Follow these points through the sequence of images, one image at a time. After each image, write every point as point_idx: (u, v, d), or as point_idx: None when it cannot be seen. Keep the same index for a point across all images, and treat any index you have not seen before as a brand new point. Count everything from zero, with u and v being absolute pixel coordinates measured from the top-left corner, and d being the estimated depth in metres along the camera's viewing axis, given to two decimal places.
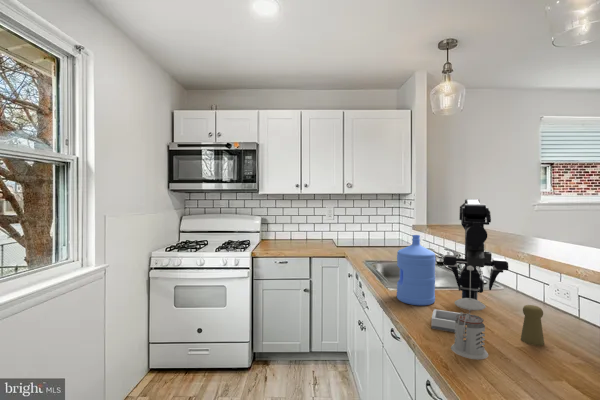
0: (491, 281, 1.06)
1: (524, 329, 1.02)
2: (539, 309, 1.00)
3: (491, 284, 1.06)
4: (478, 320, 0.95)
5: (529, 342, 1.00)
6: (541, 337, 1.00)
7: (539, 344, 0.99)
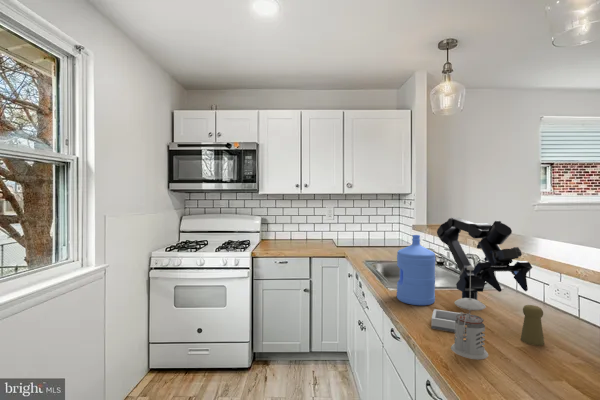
0: (524, 281, 1.12)
1: (524, 329, 1.02)
2: (539, 309, 1.00)
3: (525, 284, 1.11)
4: (478, 320, 0.95)
5: (529, 342, 1.00)
6: (541, 337, 1.00)
7: (539, 344, 0.99)
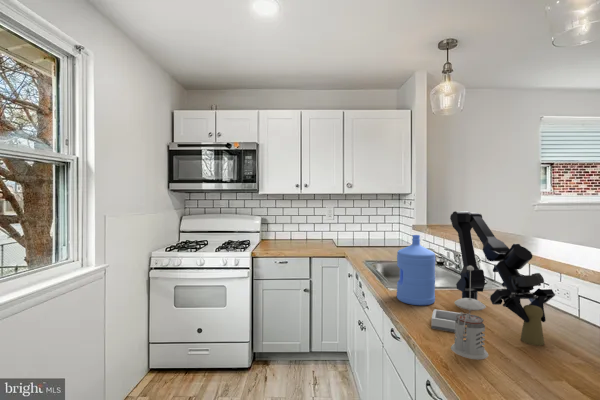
0: None
1: (524, 329, 1.02)
2: (539, 309, 1.00)
3: (543, 314, 1.02)
4: (478, 320, 0.95)
5: (529, 342, 1.00)
6: (541, 337, 1.00)
7: (539, 344, 0.99)
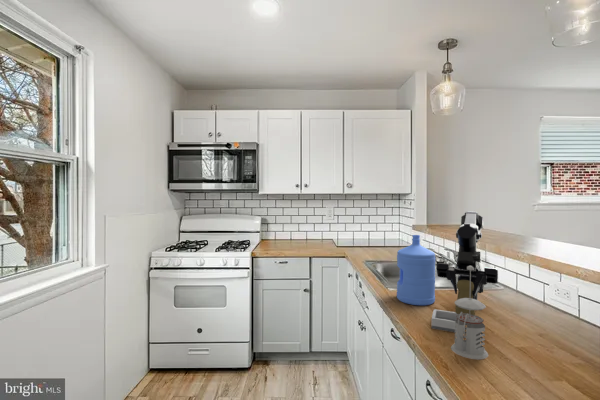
0: (475, 286, 1.08)
1: None
2: (467, 283, 1.08)
3: (475, 289, 1.08)
4: (478, 320, 0.95)
5: (456, 312, 1.10)
6: (467, 309, 1.07)
7: None
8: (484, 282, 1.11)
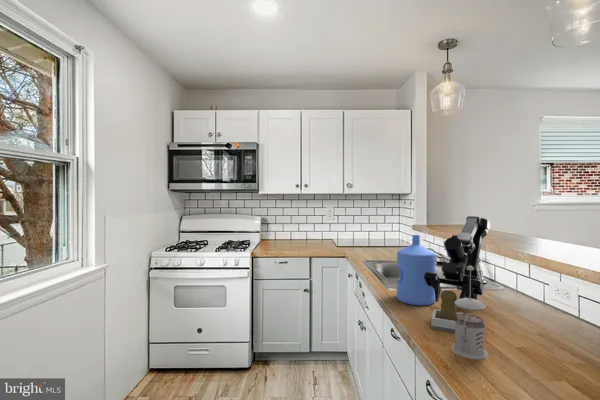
0: (460, 296, 1.11)
1: None
2: (448, 294, 1.12)
3: None
4: (478, 320, 0.95)
5: None
6: (448, 319, 1.11)
7: None
8: (472, 293, 1.13)
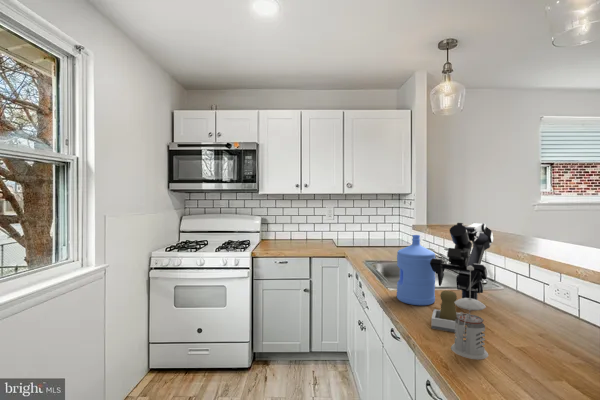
0: (468, 281, 1.15)
1: None
2: (448, 294, 1.12)
3: (468, 284, 1.15)
4: (478, 320, 0.95)
5: None
6: (448, 319, 1.11)
7: None
8: (480, 278, 1.17)
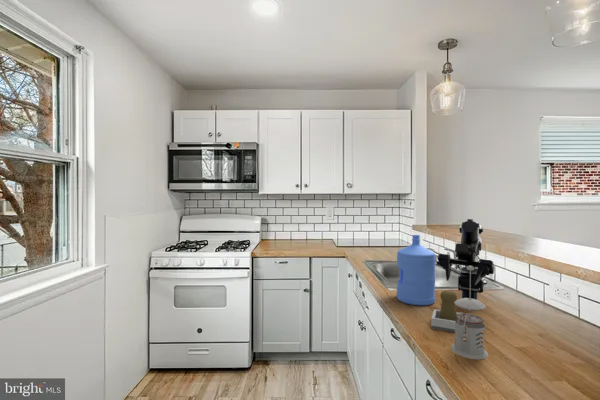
0: (476, 275, 1.17)
1: None
2: (448, 294, 1.12)
3: (476, 278, 1.17)
4: (478, 320, 0.95)
5: None
6: (448, 319, 1.11)
7: None
8: (487, 273, 1.19)
